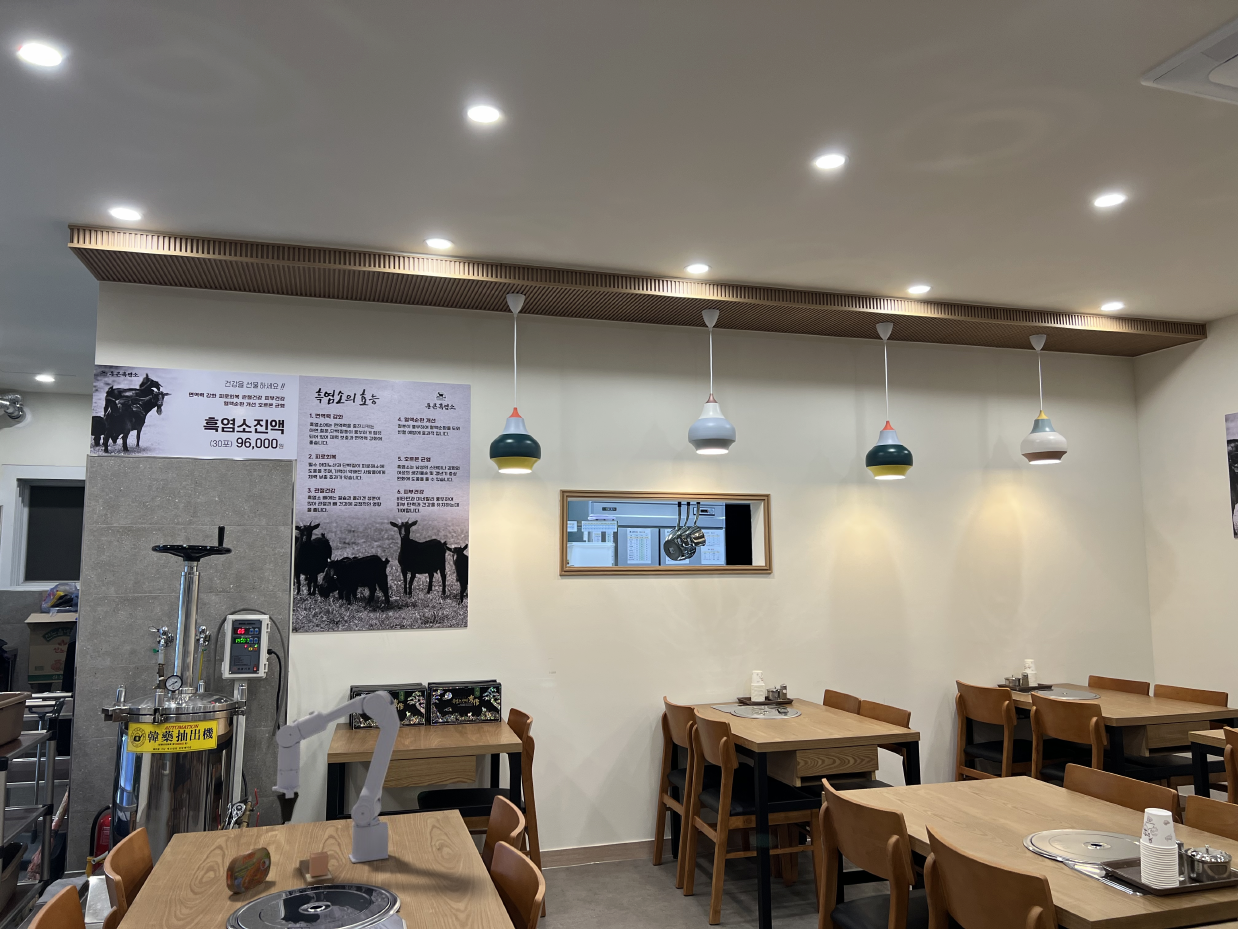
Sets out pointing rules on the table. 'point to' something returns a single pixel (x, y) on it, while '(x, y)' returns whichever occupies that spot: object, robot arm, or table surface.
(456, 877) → the table surface
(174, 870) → the table surface
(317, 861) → the slider
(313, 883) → the track
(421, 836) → the table surface
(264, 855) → the tin
